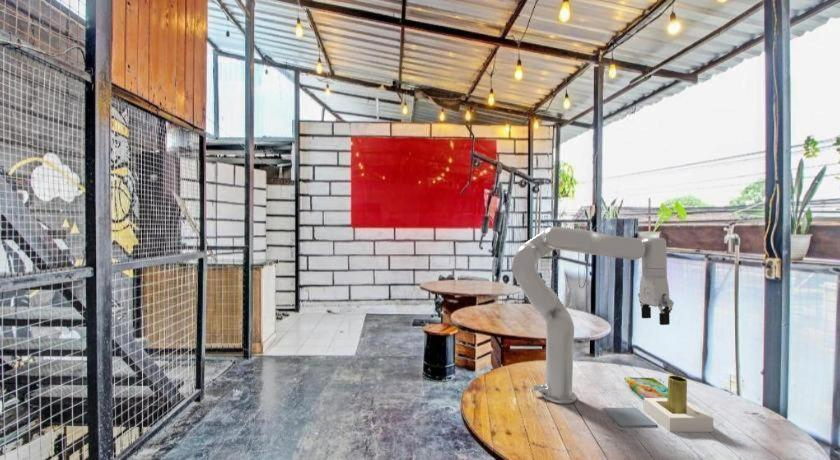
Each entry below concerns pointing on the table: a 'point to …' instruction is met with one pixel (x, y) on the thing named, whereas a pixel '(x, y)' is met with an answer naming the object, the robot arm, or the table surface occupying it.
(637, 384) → the puzzle game
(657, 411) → the well board
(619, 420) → the mat
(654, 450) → the table surface
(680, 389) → the vase
